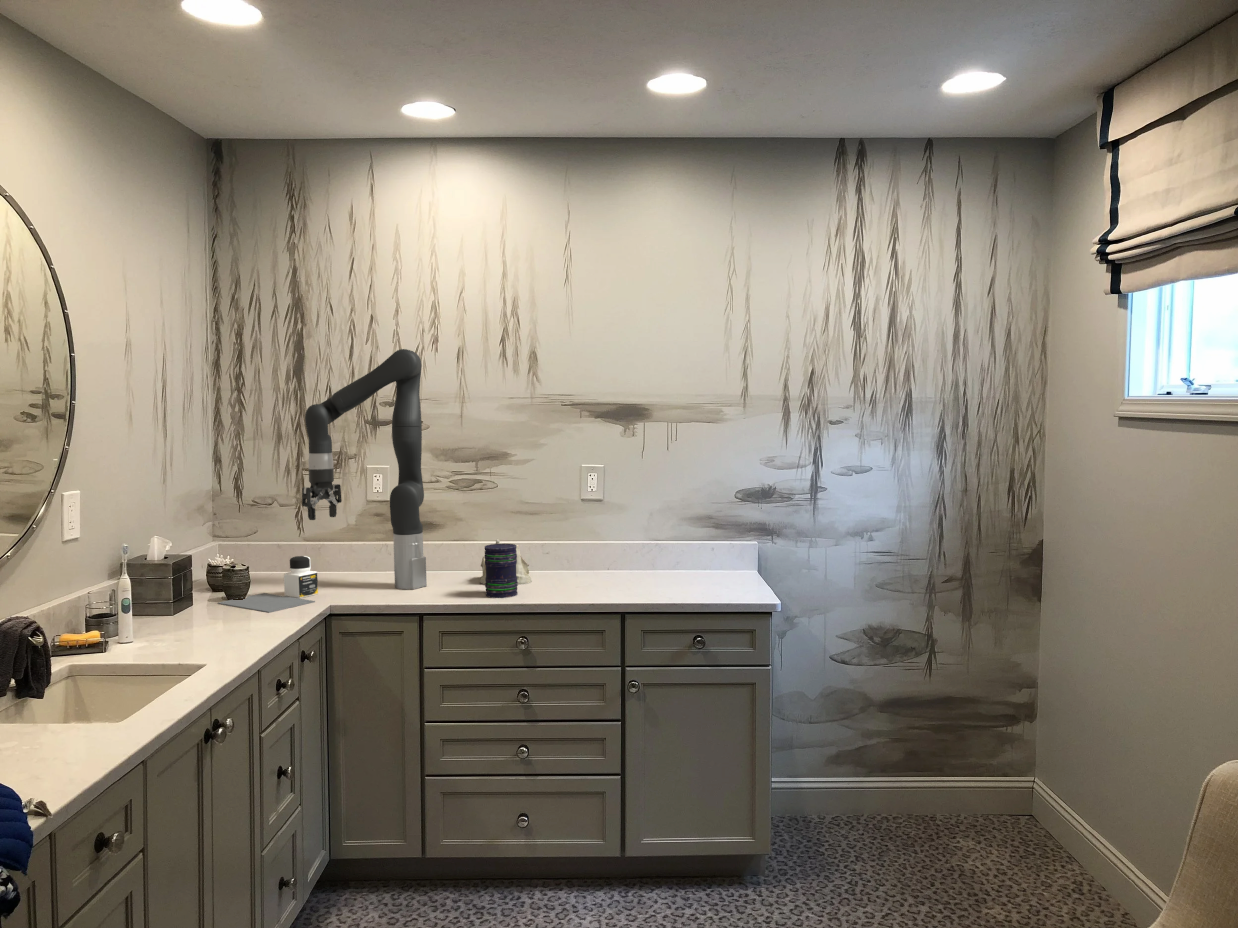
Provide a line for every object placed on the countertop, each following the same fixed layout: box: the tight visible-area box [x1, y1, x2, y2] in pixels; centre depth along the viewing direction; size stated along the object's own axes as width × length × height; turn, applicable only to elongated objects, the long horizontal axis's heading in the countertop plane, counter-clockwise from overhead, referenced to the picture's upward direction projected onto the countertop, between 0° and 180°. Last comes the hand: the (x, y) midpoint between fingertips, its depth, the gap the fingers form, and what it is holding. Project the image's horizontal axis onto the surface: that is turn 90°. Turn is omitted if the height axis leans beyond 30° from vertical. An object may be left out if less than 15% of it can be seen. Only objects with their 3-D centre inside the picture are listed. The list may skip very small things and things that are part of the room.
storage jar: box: [483, 543, 519, 599], centre depth 287 cm, size 10×10×15 cm
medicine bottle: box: [283, 555, 319, 599], centre depth 291 cm, size 7×7×12 cm
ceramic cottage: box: [479, 539, 533, 586], centre depth 309 cm, size 16×16×15 cm
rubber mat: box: [217, 592, 316, 614], centre depth 281 cm, size 24×16×1 cm, turn 57°
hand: (322, 518), depth 299 cm, fingers open, 8 cm apart
